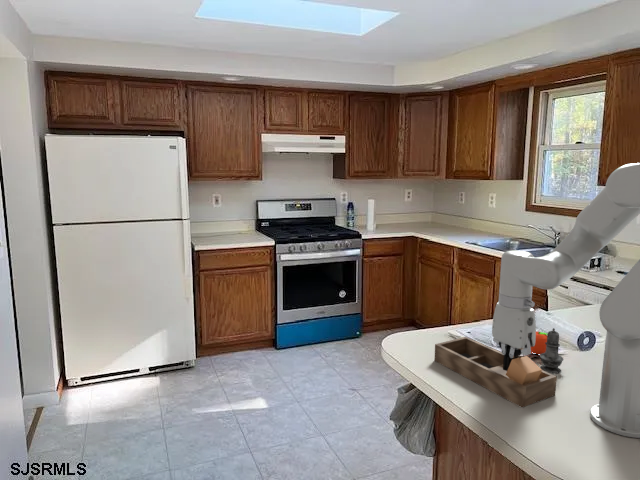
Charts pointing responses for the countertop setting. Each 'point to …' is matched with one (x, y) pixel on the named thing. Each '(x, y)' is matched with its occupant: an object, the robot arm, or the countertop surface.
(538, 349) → the clementine
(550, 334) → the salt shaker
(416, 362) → the countertop surface
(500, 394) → the wooden divided tray
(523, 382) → the block
